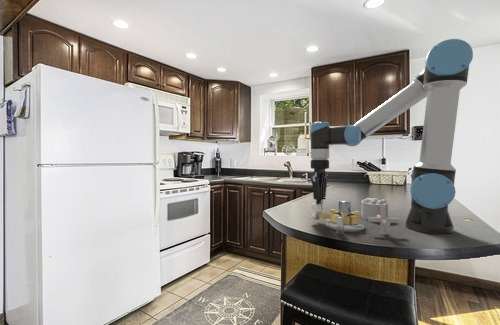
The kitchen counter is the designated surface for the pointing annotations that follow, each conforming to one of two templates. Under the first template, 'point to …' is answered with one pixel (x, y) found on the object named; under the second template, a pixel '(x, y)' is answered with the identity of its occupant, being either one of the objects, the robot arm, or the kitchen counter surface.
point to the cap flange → (346, 207)
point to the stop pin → (340, 225)
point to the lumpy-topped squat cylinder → (372, 207)
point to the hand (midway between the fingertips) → (319, 214)
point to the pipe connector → (383, 220)
